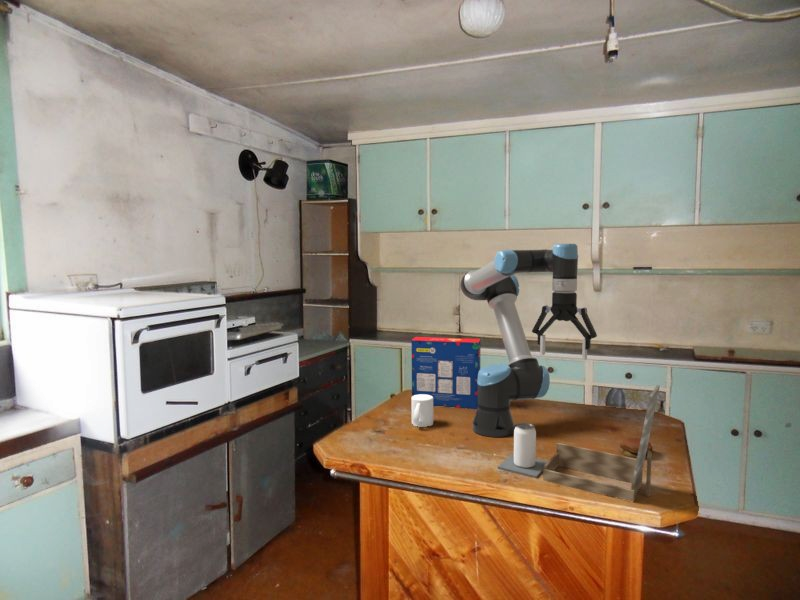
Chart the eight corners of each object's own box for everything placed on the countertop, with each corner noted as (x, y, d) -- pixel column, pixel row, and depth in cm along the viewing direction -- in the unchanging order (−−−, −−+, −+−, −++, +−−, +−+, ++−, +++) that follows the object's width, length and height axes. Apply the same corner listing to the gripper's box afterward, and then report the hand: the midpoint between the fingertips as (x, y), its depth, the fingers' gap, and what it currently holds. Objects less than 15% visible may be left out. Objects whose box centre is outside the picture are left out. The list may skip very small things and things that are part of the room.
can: (535, 469, 155) (536, 430, 154) (513, 467, 156) (513, 428, 155) (535, 460, 161) (536, 423, 160) (513, 459, 162) (514, 421, 161)
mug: (435, 395, 199) (426, 404, 188) (436, 421, 200) (426, 431, 189) (415, 393, 202) (405, 401, 191) (415, 419, 203) (405, 429, 192)
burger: (613, 452, 169) (613, 438, 168) (629, 446, 174) (630, 432, 174) (641, 462, 161) (642, 448, 160) (658, 455, 166) (659, 441, 166)
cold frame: (543, 479, 149) (544, 381, 146) (556, 464, 159) (558, 372, 156) (647, 505, 134) (652, 395, 131) (655, 487, 144) (659, 385, 141)
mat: (497, 468, 157) (497, 466, 157) (513, 455, 167) (513, 453, 167) (536, 478, 150) (536, 476, 150) (550, 463, 160) (550, 461, 160)
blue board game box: (480, 403, 222) (480, 339, 219) (478, 409, 215) (478, 342, 212) (416, 399, 229) (415, 336, 226) (411, 405, 221) (411, 340, 219)
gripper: (522, 291, 171) (522, 354, 173) (602, 294, 157) (600, 363, 159) (531, 289, 177) (530, 351, 179) (608, 292, 163) (606, 359, 165)
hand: (563, 357), depth 169 cm, fingers open, 13 cm apart
